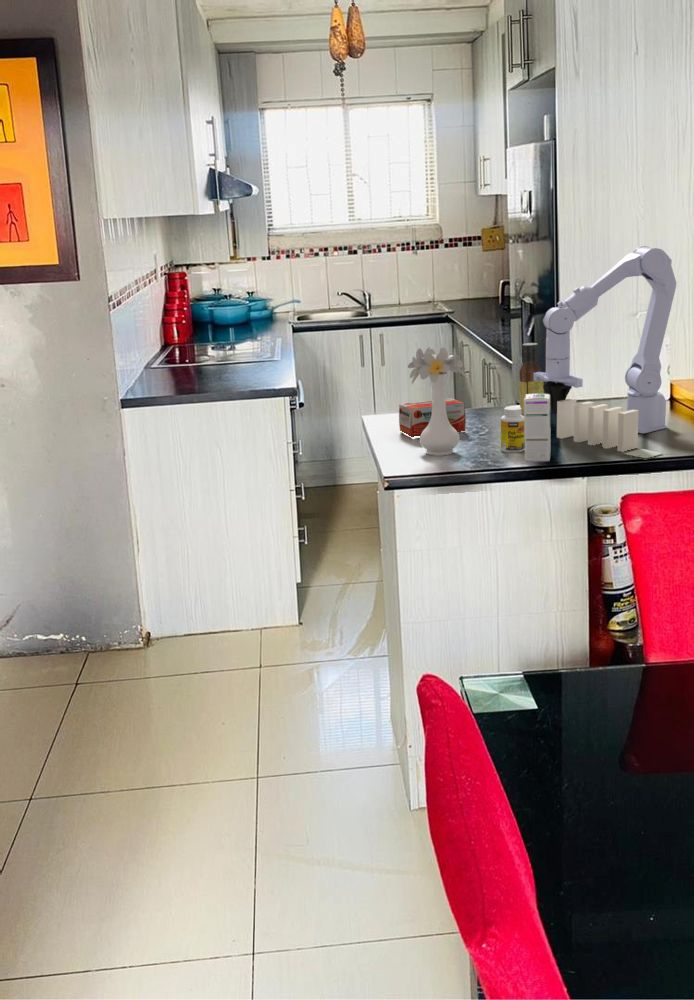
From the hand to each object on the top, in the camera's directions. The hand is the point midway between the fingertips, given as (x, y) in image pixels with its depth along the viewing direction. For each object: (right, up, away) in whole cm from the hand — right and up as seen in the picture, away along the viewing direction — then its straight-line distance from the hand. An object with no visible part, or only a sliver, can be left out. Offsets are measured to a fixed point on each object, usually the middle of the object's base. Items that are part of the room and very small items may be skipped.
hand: (557, 412), depth 260 cm
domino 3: (+8, -8, -9) cm, 14 cm away
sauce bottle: (-3, 0, +19) cm, 19 cm away
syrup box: (-8, -12, -20) cm, 25 cm away
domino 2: (+5, -7, -5) cm, 10 cm away
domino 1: (+2, -6, -1) cm, 6 cm away
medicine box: (-30, -5, +9) cm, 32 cm away
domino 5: (+13, -10, -16) cm, 23 cm away
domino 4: (+10, -9, -12) cm, 19 cm away
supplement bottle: (-13, -10, -12) cm, 20 cm away
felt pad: (+15, -11, -21) cm, 28 cm away
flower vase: (-30, -10, -10) cm, 34 cm away
